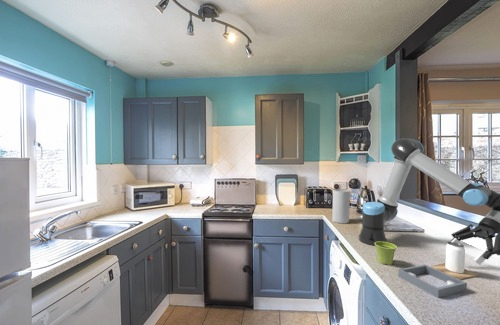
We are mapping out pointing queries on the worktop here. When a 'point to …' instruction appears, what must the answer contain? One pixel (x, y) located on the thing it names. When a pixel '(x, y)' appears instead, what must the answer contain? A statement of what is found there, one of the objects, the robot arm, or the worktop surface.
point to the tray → (451, 288)
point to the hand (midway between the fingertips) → (461, 255)
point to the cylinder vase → (341, 206)
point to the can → (455, 257)
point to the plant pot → (385, 252)
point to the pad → (457, 275)
